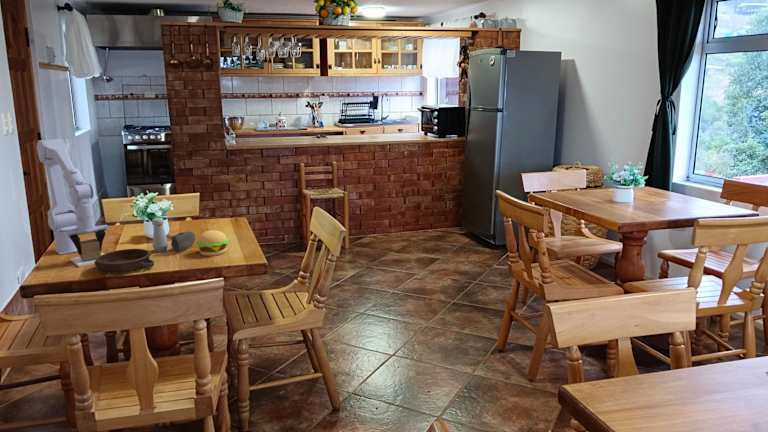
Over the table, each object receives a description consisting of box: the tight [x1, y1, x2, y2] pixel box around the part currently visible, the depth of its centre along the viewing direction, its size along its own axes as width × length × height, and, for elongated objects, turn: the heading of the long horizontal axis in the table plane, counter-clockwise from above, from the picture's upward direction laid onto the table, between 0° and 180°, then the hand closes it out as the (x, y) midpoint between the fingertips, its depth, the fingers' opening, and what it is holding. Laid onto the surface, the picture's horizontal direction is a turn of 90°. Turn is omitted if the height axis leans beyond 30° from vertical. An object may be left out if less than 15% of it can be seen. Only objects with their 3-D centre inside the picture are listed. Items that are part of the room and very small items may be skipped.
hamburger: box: [195, 229, 229, 257], centre depth 222 cm, size 12×12×9 cm
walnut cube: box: [79, 238, 102, 261], centre depth 215 cm, size 6×6×6 cm
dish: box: [94, 248, 155, 274], centre depth 206 cm, size 17×22×5 cm
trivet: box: [70, 252, 105, 268], centre depth 215 cm, size 11×11×1 cm
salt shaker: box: [151, 217, 169, 253], centre depth 225 cm, size 6×6×13 cm
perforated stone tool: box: [170, 231, 196, 253], centre depth 228 cm, size 15×5×7 cm, turn 166°
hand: (89, 252), depth 215 cm, fingers closed on walnut cube, 6 cm apart
